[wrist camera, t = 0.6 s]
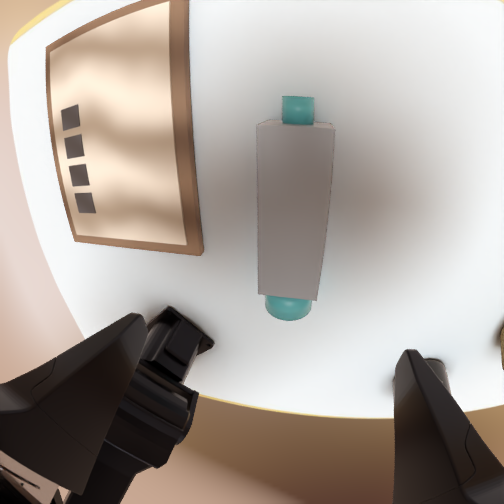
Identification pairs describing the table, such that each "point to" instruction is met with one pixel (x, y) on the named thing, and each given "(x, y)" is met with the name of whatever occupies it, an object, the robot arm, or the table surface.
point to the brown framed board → (126, 129)
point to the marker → (292, 206)
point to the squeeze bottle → (502, 346)
